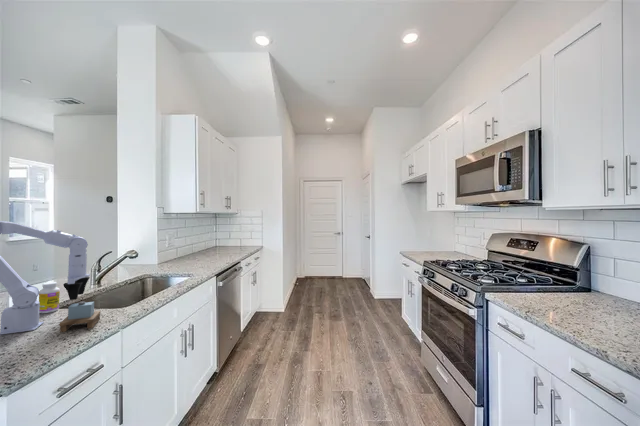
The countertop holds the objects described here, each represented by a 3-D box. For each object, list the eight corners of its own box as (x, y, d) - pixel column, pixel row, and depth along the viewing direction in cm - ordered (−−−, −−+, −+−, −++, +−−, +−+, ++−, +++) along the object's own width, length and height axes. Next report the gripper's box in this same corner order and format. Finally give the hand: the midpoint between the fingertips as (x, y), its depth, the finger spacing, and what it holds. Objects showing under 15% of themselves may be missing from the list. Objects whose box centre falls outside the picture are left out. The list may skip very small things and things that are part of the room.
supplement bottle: (45, 314, 117) (46, 285, 117) (34, 313, 118) (35, 284, 118) (63, 309, 123) (63, 281, 123) (52, 308, 125) (52, 280, 125)
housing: (68, 319, 103) (68, 305, 103) (71, 316, 107) (72, 301, 107) (90, 317, 107) (91, 302, 107) (93, 313, 110) (94, 299, 110)
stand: (59, 332, 100) (59, 323, 100) (69, 322, 109) (69, 314, 109) (93, 328, 105) (93, 319, 105) (100, 318, 113) (100, 310, 114)
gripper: (84, 267, 108) (83, 300, 108) (94, 261, 121) (94, 291, 121) (61, 268, 105) (60, 303, 105) (74, 262, 118) (73, 293, 118)
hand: (76, 296), depth 113 cm, fingers open, 7 cm apart
